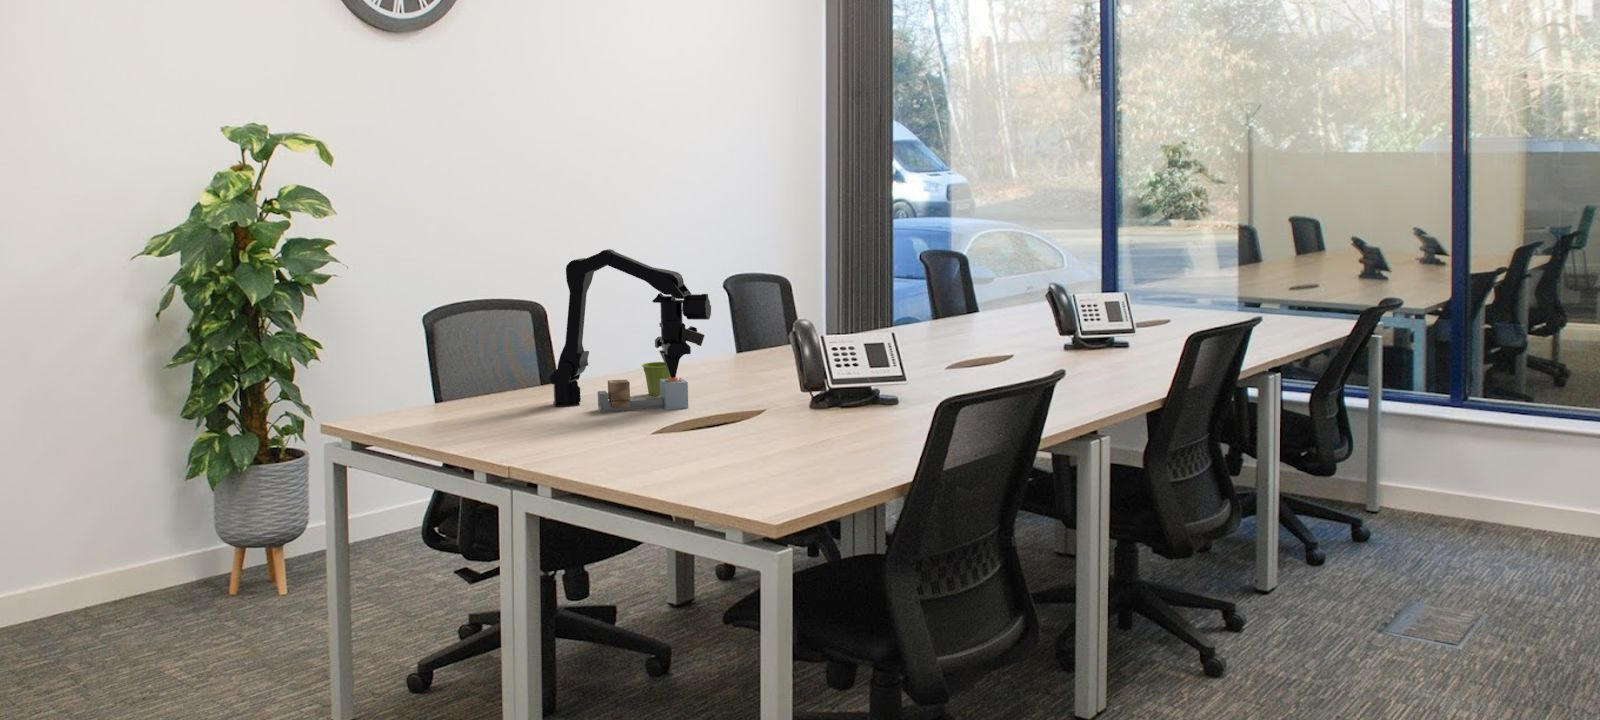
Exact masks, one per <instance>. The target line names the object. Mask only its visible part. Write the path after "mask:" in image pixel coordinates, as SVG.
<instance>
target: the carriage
mask: <svg viewBox="0 0 1600 720" xmlns="http://www.w3.org/2000/svg"><path fill="white" fill-rule="evenodd" d="M630 383H631V382H630V381H629V380H628V379H627V378H626V379H614V380H613V379H610V380H607V393H608V400H610V401H611V402H612V408H615V407H630V404H629V401H630V399H631V391H630V390H631V389H630V388H631V386H630V385H631V384H630Z"/></svg>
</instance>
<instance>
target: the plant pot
mask: <svg viewBox="0 0 1600 720" xmlns="http://www.w3.org/2000/svg"><path fill="white" fill-rule="evenodd" d="M641 367H642V368H643V372H644V374H645V380H646V386H647V387H646V388H647V392H648V395H649V396H653V397H660V379H668V377H671V376H670V374H669V372H668V369H667V367H666V365H665V363H664V361H653V362H646V363H642V364H641Z"/></svg>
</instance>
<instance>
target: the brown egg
mask: <svg viewBox="0 0 1600 720" xmlns="http://www.w3.org/2000/svg"><path fill="white" fill-rule="evenodd" d="M679 378H680V377H679V376H676V377H675V378H671V377H668V382H679Z"/></svg>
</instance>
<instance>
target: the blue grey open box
mask: <svg viewBox="0 0 1600 720" xmlns="http://www.w3.org/2000/svg"><path fill="white" fill-rule="evenodd" d="M659 397H662V398H664V408H663V409H665V411H666V410H667V411H668V410H680V409H681V410H683V409H689V385H688V381H687V380H686V379H684V378H683V377H679V382H668V379H660V396H659Z"/></svg>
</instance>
